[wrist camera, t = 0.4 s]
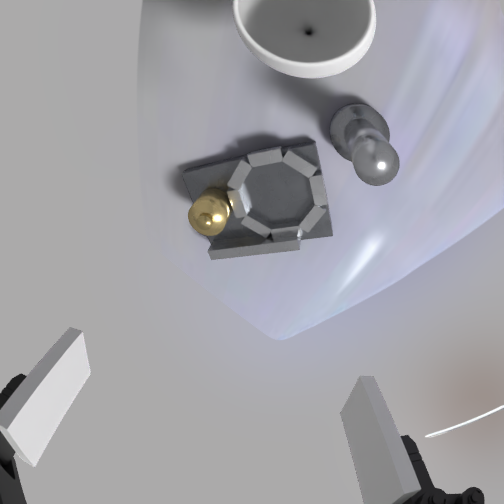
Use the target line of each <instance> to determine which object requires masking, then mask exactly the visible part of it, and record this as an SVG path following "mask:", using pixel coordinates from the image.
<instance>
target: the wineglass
mask: <svg viewBox="0 0 504 504" xmlns="http://www.w3.org/2000/svg"><path fill="white" fill-rule="evenodd" d="M232 11H233V17H234V22H235V25H236V28H237V30H238V33H239V35H240V37H241V39H242V40H243V42H244V43H245V45H246V46H247V48H248V49H249V50H250V51H251V52H252V53H253V54H254V55H255V56H256V57H257V58H258V59H259V60H260V61H262V62H263V63H264V64H266V65H268V66H269V67H271V68H273V69H275V70H277V71H279V72H281V73H284V74H287V75H291V76H295V77H301V78H322V77H328V76H332V75H335V74H338V73H341V72H343V71H345V70H347V69H349V68H350V67H352V66H353V65H354V64H356V63H357V62H358V61H359V60H360V59H361V58H362V57H363V56H364V54H365V53H366V52H367V50H368V48H369V47H370V45H371V43H372V40H373V37H374V34H375V28H376V12H375V6H374V2H373V0H233V2H232Z"/></svg>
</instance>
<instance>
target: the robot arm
mask: <svg viewBox="0 0 504 504" xmlns="http://www.w3.org/2000/svg"><path fill="white" fill-rule="evenodd" d="M90 374H91V372H90V367H89V362H88V357H87V352H86V347H85V341H84V335H83V331H81V330H77V329H74V328H71V327H70V328H69V329H68V330H67V331H66V332H65V333H64V335H62V337H61V338H60V339H59V340H58V341H57V342H56V343H55V344H54V345H53V347H52V348H51V349H50V350H49V351H48V352H47V353H46V354H45V356H44V357H43V358H42V359H41V360H40V361H39V363H38V364H37V365H36V366H35V367H34V369H33V370H32V371H31V372H30V373H29V374H28V376H25V375H23V374H19V375H18V376H16V377H14V378H12V380H11V381H10V382H9V383H8V384H7V386H6V388H4V389H3V390H2V392H1V393H0V504H27V503H26V500H25V497H24V493H23V490H22V487H21V483H20V479H19V475H18V471H17V467H16V463H15V459H14V457H13V456H14V454H15V452H16V453H17V455H18V456H19V457H20V459H21V460H23V461H25V462H26V463H28V464H30V465H31V466H33V467H35V466H36V464H37V462H38V460H39V459H40V457H41V455H42V453H43V451H44V449H45V448H46V446H47V444H48V442H49V441H50V439H51V437H52V435H53V434H54V432H55V430H56V429H57V427H58V425H59V423H60V422H61V420H62V418H63V417H64V415H65V413H66V412H67V410H68V408H69V407H70V405H71V404H72V402H73V400H74V399H75V397H76V396H77V394H78V392H79V391H80V389H81V388H82V386H83V385H84V383H85V381H86V380H87V378H88V377H89V375H90ZM340 414H341V418H342V421H343V425H344V429H345V432H346V436H347V439H348V443H349V447H350V450H351V454H352V458H353V462H354V466H355V470H356V474H357V478H358V482H359V486H360V490H361V493H362V498H363V502H364V504H484V494H483V493H482V491H481V490H480V489H479V488H476V487H471V488H468V489H467V490H466V491H464V492H463V493H462V494H446V493H445V492H444V491H442V490H441V489H438V488H435V487H434V485H433V483H432V481H431V479H430V476H429V474H428V471H427V469H426V466H425V464H424V462H423V461H422V457H421V455H420V454H419V450H418V448H417V446H416V443H415V442H414V441H413V440H412V439H411V438H410V437H409V436H408V435H405V436H400V434H399V432H398V430H397V428H396V425H395V423H394V420H393V418H392V416H391V414H390V411H389V409H388V407H387V405H386V402H385V400H384V398H383V396H382V394H381V391H380V389H379V387H378V385H377V383H376V381H375V378H374V377H373V376H360V377H359V379H358V380H357V383H356V384H355V386H354V388H353V390H352V392H351V394H350V396H349V398H348V400H347V402H346V404H345V405H344V407H343V409H342V411H341V412H340Z"/></svg>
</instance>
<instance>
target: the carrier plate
mask: <svg viewBox="0 0 504 504" xmlns="http://www.w3.org/2000/svg"><path fill="white" fill-rule="evenodd" d="M182 177H183V179H184V181H185V184H186V186H187V189H188V191H189V194H190V196H191V198H192V201H193V203H194V204H193V205H192V206H191V208H190V209H189V212H188V219H189V222H190V224H191V226H192V227H193V228H194V229H195V230H196V231H197V232H199V233H201V234H203V235H207V236H208V238H209V241H210V243H211V246H210V248H209V249H208V253H209V256H210V258H211V260H215V259H224V258H233V257H242V256H251V255H259V254H268V253H277V252H286V251H295V250H300V242H301V240H304V239H312V238H320V237H328V236H333V230H332V224H331V218H330V212H329V206H328V201H327V195H326V190H325V184H324V179H323V174H322V170H321V165H320V160H319V156H318V151H317V147H316V142H309V143H303V144H297V145H292V146H286V147H281V146H278V147H273V148H268V149H263V150H259V151H254V152H249V154H248V155H243V156H239V157H235V158H230V159H226V160H222V161H218V162H214V163H210V164H206V165H203V166H199V167H195V168H191V169H188V170H185V171H184V172H183V173H182Z"/></svg>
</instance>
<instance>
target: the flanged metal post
mask: <svg viewBox="0 0 504 504" xmlns="http://www.w3.org/2000/svg"><path fill="white" fill-rule="evenodd" d="M330 135H331V140H332V143H333V146H334V147H335V149H336V151H337V152H338V153H339V154H340V155H341V156H342V157H344V158H345V159H347V160H349V161H351V162H353V165H354V169H355V171H356V174H357V175H358V177H359V178H360V179H361V180H362V181H364V182H365V183H367V184H370V185H374V186H380V185H384V184H387V183H388V182H390V181H391V180H393V178H394V177H395V176H396V174H397V173H398V170H399V157H398V155H397V153H396V151H395V150H394V148H393V147H392V146H391V145H390V144H389V138H390V134H389V128H388V125H387V123H386V121H385V119H384V118H383V117H382V116H381V115H380V114H379V113H378V112H377V111H376V110H374V109H373V108H371V107H369V106H367V105H364V104H357V103H356V104H349V105H346V106H344V107H342V108H341V109H339V110H338V111H337V112H336V113H335V115H334V116H333V118H332V120H331V124H330Z"/></svg>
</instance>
